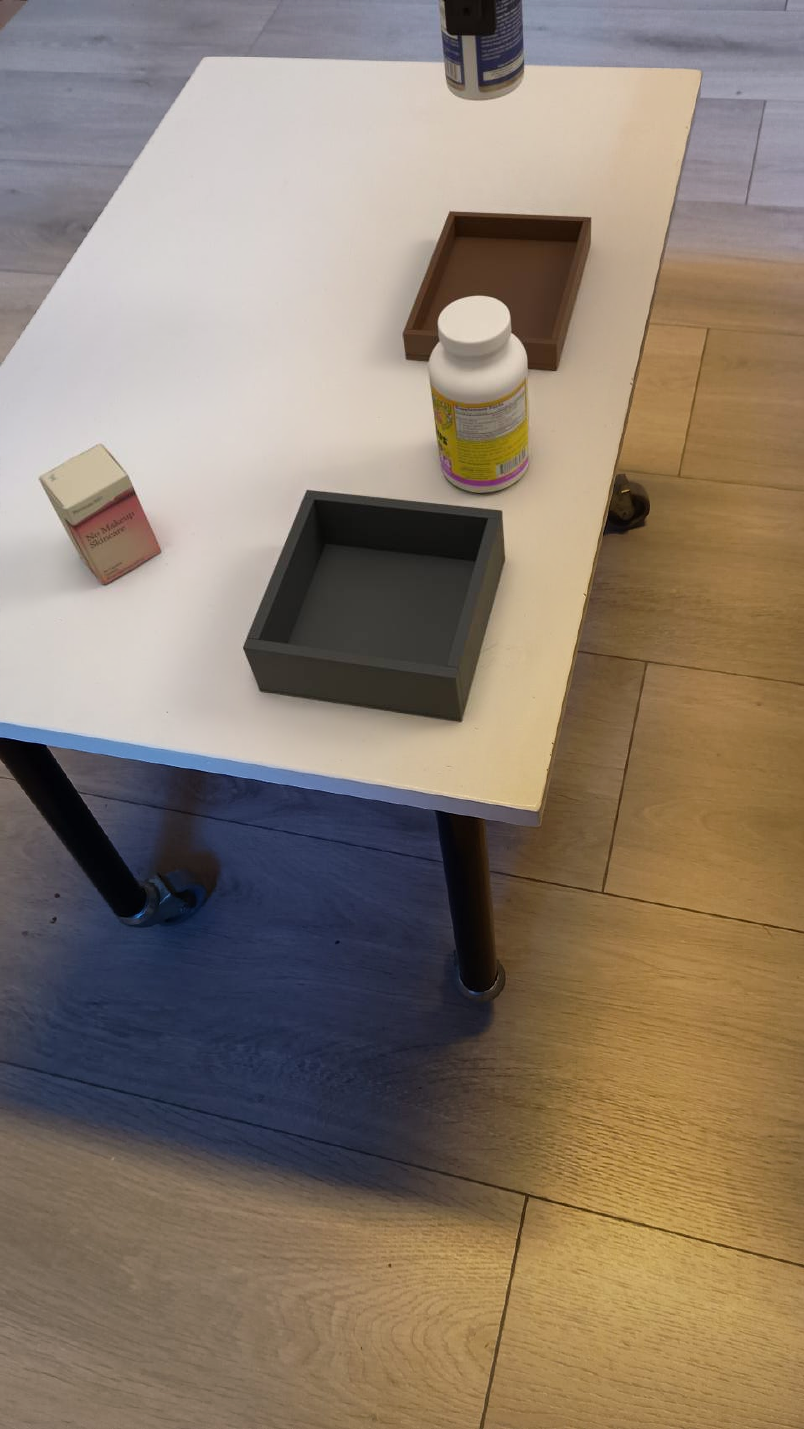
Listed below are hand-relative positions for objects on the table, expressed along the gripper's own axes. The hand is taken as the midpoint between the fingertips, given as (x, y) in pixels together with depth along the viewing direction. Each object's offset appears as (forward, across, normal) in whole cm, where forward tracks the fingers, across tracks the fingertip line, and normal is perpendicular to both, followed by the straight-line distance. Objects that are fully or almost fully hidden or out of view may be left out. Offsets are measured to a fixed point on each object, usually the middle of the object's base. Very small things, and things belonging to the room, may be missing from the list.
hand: (482, 5), depth 72 cm
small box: (+23, -30, +22) cm, 44 cm away
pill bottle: (+5, 0, 0) cm, 5 cm away
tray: (+23, +1, 0) cm, 23 cm away
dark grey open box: (+23, -33, +1) cm, 41 cm away
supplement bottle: (+23, -18, -3) cm, 29 cm away
